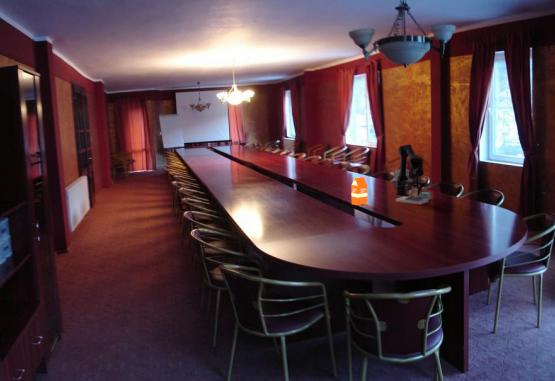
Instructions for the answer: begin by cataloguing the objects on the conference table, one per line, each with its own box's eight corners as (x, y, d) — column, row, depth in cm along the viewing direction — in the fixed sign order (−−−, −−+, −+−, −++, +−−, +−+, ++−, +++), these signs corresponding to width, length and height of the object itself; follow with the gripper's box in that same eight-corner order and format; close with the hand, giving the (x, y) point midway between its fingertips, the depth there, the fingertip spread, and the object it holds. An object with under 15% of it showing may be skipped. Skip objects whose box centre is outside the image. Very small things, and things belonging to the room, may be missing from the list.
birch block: (408, 196, 355) (408, 190, 354) (412, 195, 360) (412, 188, 359) (416, 197, 351) (416, 190, 350) (420, 196, 356) (420, 189, 355)
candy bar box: (408, 188, 409) (409, 169, 406) (407, 189, 405) (407, 170, 402) (395, 188, 415) (395, 169, 412) (394, 189, 410) (394, 170, 407)
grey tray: (395, 201, 360) (395, 197, 359) (403, 198, 368) (403, 195, 368) (420, 204, 346) (420, 200, 346) (428, 201, 355) (428, 197, 354)
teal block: (419, 199, 364) (419, 193, 363) (423, 198, 368) (423, 192, 367) (426, 200, 360) (426, 194, 359) (430, 199, 364) (430, 192, 363)
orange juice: (351, 204, 358) (351, 177, 354) (360, 202, 362) (360, 176, 358) (358, 205, 351) (357, 178, 347) (367, 204, 355) (367, 177, 351)
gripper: (397, 174, 353) (397, 195, 356) (421, 176, 340) (421, 198, 343) (405, 172, 361) (405, 193, 364) (428, 174, 348) (428, 195, 351)
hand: (414, 195), depth 355 cm, fingers closed on birch block, 6 cm apart
